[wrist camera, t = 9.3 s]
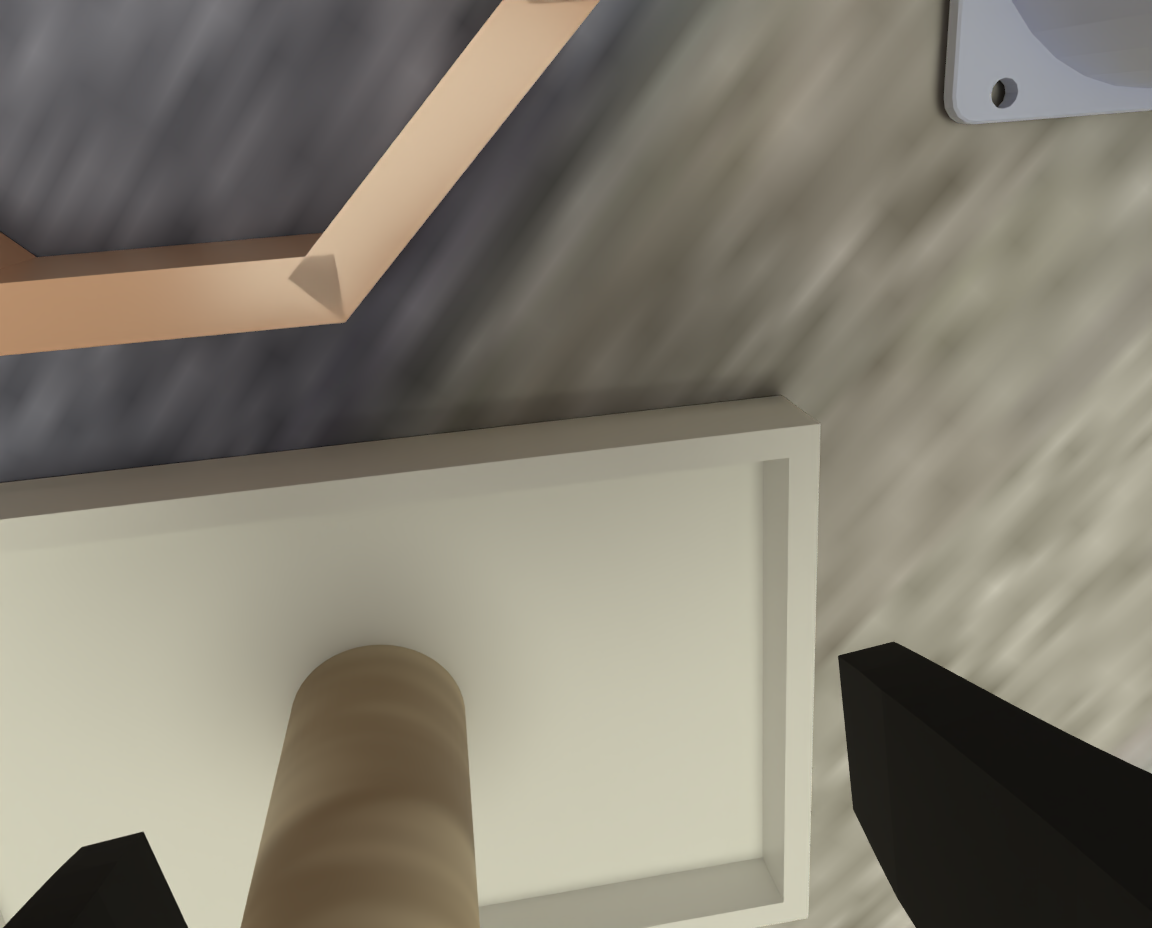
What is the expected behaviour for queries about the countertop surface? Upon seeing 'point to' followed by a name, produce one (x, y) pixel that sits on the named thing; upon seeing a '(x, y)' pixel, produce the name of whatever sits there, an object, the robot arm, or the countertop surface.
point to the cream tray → (437, 655)
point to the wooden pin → (370, 801)
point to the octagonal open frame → (298, 262)
